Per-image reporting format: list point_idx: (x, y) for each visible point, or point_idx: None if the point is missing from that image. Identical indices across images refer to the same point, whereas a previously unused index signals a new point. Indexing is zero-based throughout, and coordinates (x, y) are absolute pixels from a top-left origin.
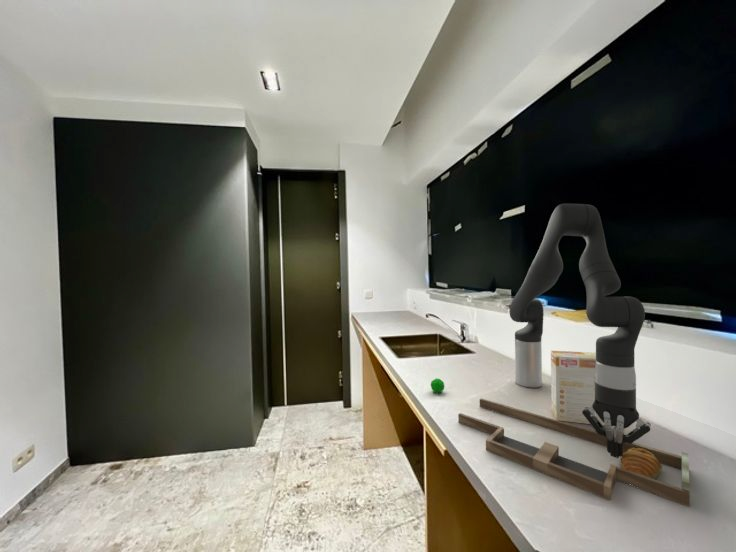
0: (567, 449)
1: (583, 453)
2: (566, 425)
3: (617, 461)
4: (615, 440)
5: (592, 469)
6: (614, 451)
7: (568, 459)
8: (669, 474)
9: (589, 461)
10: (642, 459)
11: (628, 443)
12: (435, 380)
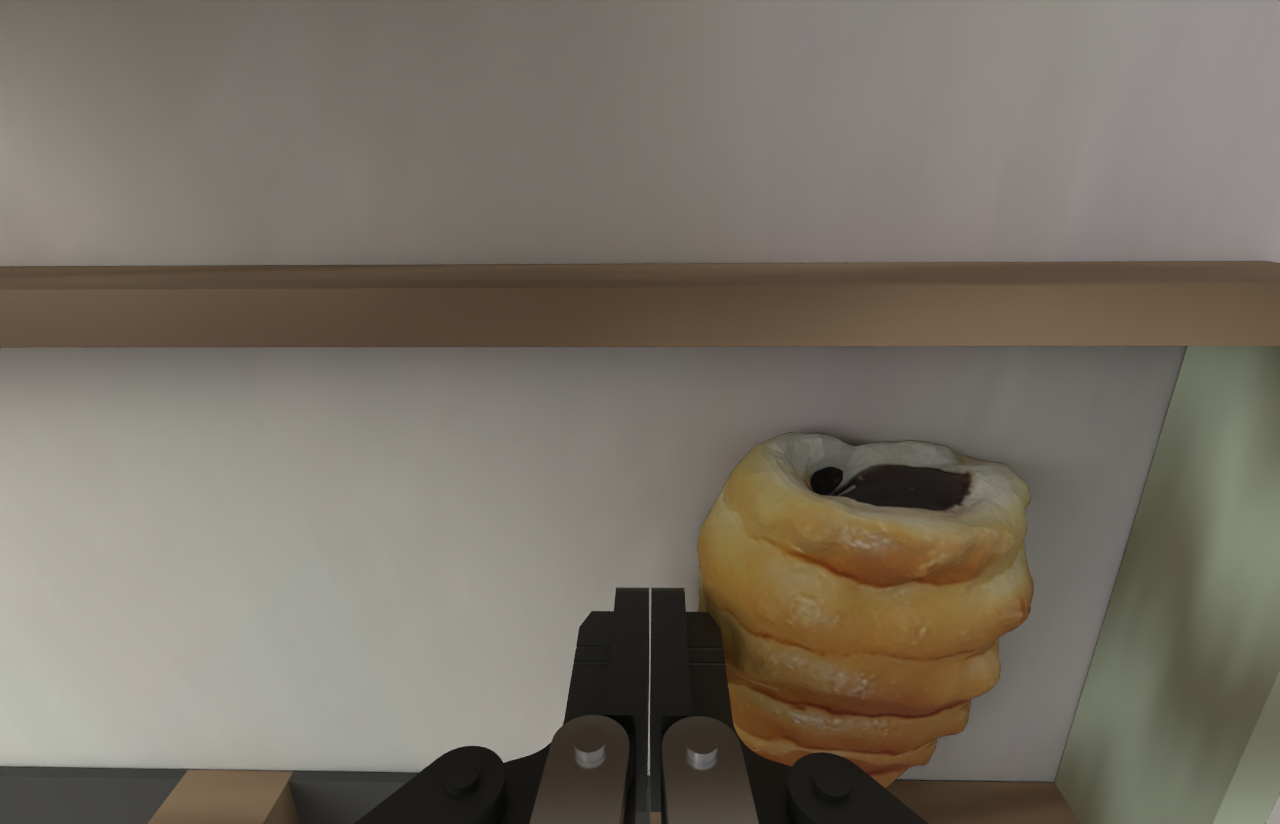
0: (286, 629)
1: (408, 608)
2: (13, 343)
3: (665, 555)
4: (653, 772)
5: None
6: (648, 694)
7: (363, 786)
8: (1056, 488)
9: (485, 694)
10: (892, 715)
11: (755, 339)
12: None
